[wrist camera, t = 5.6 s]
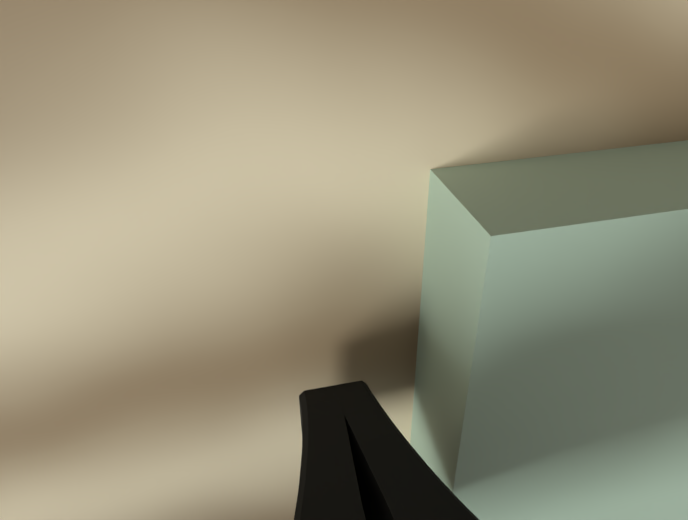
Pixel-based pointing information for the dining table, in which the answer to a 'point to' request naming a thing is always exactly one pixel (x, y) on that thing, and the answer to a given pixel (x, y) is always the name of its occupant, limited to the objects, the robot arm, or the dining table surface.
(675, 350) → the mint green book-shaped slab
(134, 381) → the bench board
